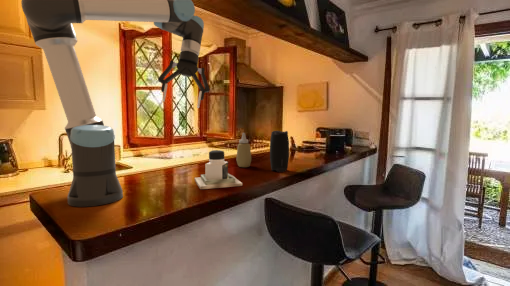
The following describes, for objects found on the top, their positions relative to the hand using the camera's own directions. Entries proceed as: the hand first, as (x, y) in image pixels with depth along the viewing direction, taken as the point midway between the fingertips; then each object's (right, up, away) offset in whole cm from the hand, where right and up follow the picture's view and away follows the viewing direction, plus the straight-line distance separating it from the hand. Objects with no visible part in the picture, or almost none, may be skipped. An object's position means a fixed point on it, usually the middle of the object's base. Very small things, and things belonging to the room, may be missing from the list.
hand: (181, 104), depth 111 cm
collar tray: (+15, -32, 0) cm, 35 cm away
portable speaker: (+42, -30, +25) cm, 57 cm away
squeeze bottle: (+24, -28, +37) cm, 52 cm away
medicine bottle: (+14, -31, 0) cm, 34 cm away
